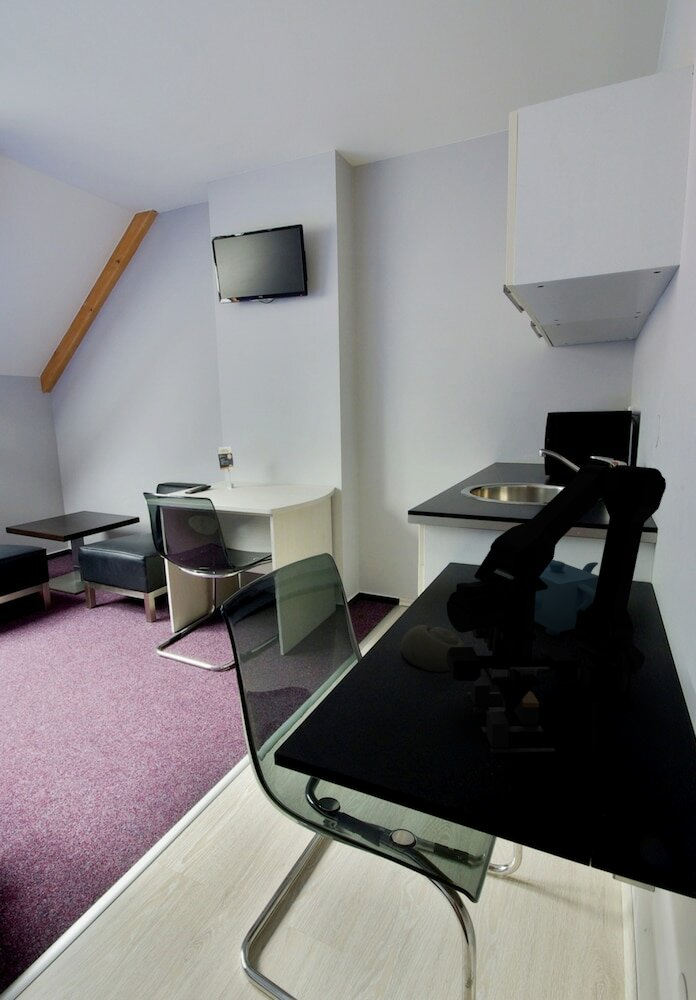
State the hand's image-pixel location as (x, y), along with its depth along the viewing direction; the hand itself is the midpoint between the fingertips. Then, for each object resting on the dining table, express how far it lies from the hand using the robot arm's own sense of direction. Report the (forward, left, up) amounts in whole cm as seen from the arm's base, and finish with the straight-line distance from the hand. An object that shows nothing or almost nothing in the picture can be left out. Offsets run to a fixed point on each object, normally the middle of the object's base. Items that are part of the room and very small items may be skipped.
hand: (508, 713), depth 77 cm
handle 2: (+3, +5, -1) cm, 6 cm away
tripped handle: (-3, 0, -1) cm, 3 cm away
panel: (0, 0, -2) cm, 2 cm away
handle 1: (+3, -5, -1) cm, 6 cm away
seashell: (+9, -20, -3) cm, 22 cm away
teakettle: (-22, -38, -3) cm, 44 cm away
